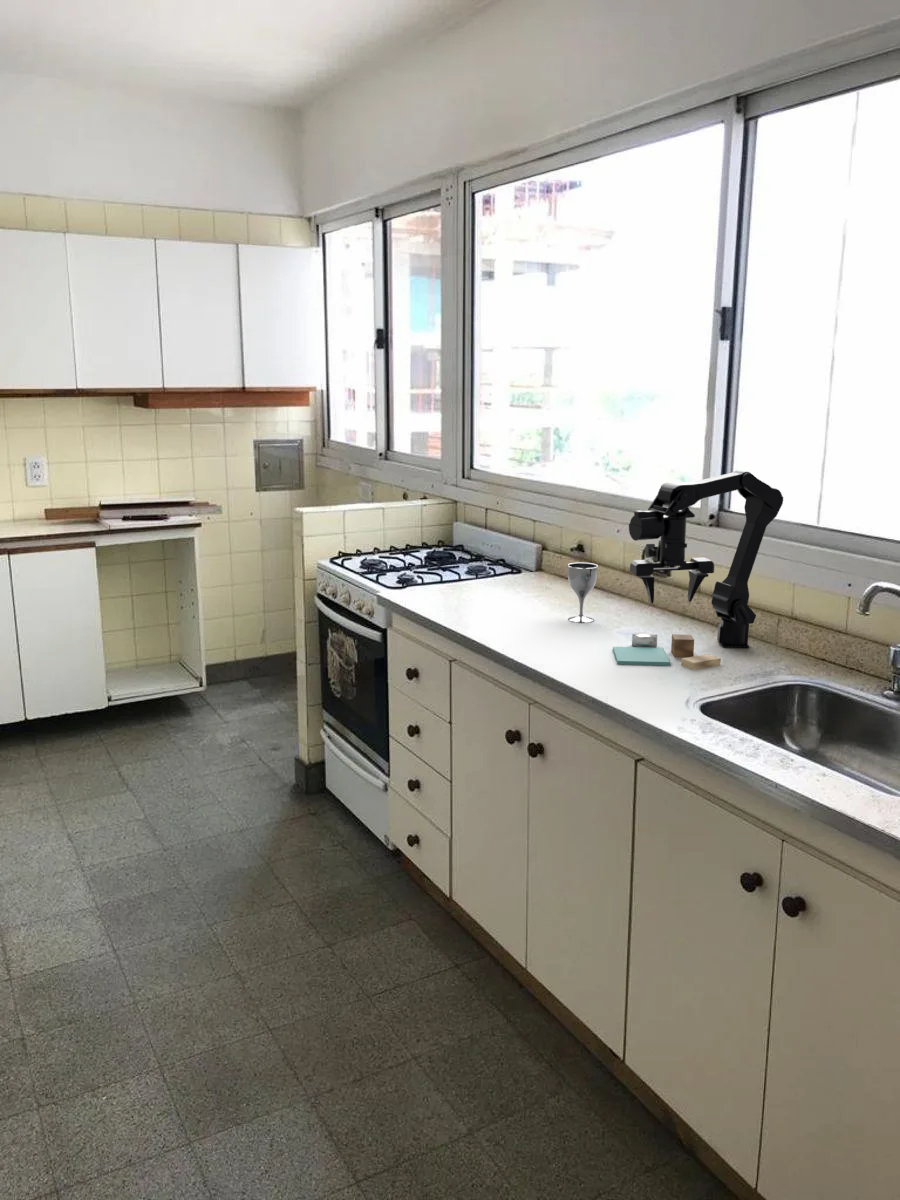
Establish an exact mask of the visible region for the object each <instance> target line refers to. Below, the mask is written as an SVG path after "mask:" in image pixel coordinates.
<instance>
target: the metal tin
mask: <svg viewBox="0 0 900 1200" xmlns="http://www.w3.org/2000/svg"><path fill="white" fill-rule="evenodd" d="M631 647H655V648H658V634H656V633H655V632H651V631H636V632H635V631H634V632H633V633H632V636H631Z"/></svg>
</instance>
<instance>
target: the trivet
mask: <svg viewBox="0 0 900 1200" xmlns="http://www.w3.org/2000/svg"><path fill="white" fill-rule="evenodd" d="M612 652H613V655H614V657H615V661H616V663H617V665H632V666H634V665H639V666H640V665H641V666H671V665H672V662H671V660H670V657H669V656H668V654H667V652H666V650H665V648H664V647H657V648H655V647H632V646H612Z"/></svg>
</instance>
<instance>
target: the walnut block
mask: <svg viewBox="0 0 900 1200" xmlns="http://www.w3.org/2000/svg"><path fill="white" fill-rule="evenodd" d="M670 643H671V644H670V645H671V647H670V653H671V654H672V657H673V658H674V659H675V658H677V659H678V658H680V659H682V658H687V657H694V653H695V652H694V649H695V639H694V637H693V635H692V634H675V633H673V634H671V642H670Z"/></svg>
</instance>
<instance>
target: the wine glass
mask: <svg viewBox="0 0 900 1200" xmlns="http://www.w3.org/2000/svg"><path fill="white" fill-rule="evenodd" d="M598 569H599V567H598V564H596V563H591V562H570V563H568V564H567V578H568V579H567V580H568V584H569V587H570V589H571V590H572V591H574V593H575V595H576V596H577V598H578V600H579V601H578V602H579V615H576V616H571V617H568V618H567V621H569V622H571V623H577V624H589V623H592V622H594V621H595V619H594V618H593V617H590V616H585V615H584V614H583V613H584V612H583V609H584V603H585V600H586V597H587V595H588V594H589V593H590V592H591V591H592V590H593V588H595V585H596V583H597V578H598Z"/></svg>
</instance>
